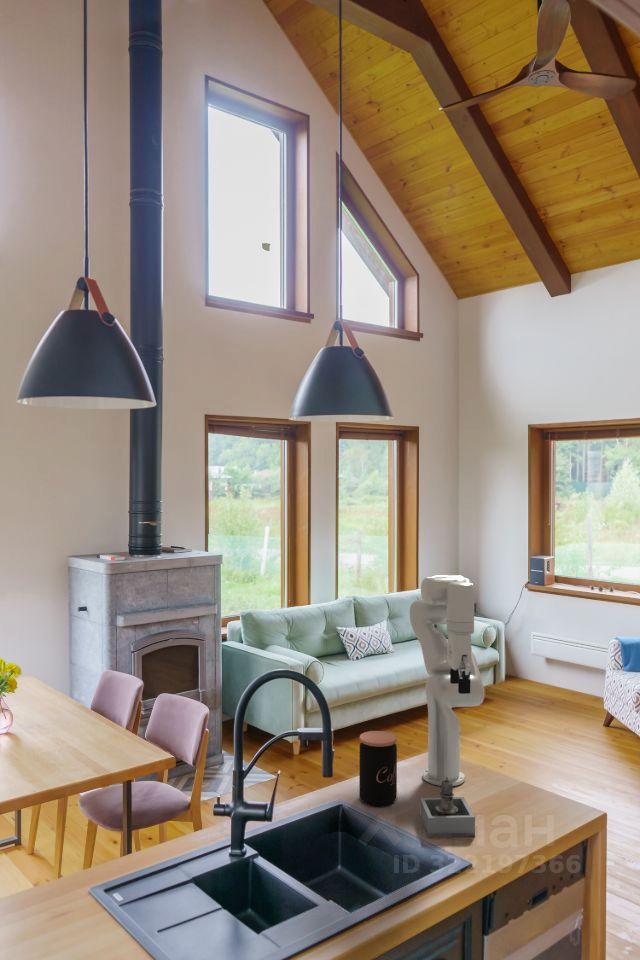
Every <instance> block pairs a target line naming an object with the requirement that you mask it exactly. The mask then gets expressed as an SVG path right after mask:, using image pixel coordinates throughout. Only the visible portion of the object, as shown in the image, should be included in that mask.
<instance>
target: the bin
mask: <svg viewBox="0 0 640 960" xmlns="http://www.w3.org/2000/svg"><path fill="white" fill-rule="evenodd" d="M439 804H441V797H420V798H419V818H420V820H421V823H422V825H423V827H425V828H424V830H425V831H426V832H425V833H426V835H427V837H428V838H432V839H433V838H467V837H470V838H471V837H476V816H475V814H474V812H473V811H472V809H471V807H470V805H469V803H468V802H467V800H466V799H465V797H464V796H462V797H461V796H459V797H457V796H456V797H455V796H453V805H454V806H456V807H457V808H458V812H457V814H456V816H438V814H437V810H436V806H437V805H439Z"/></svg>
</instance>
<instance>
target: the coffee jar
mask: <svg viewBox="0 0 640 960" xmlns="http://www.w3.org/2000/svg"><path fill="white" fill-rule="evenodd" d="M359 741H360V743H359V775H358V776H359V780H358V781H359V783H358V784H359V787H358V788H359V791H358V793H359V794H358V795H359V798H360V799H361V802H362V803H363V804H365V805H367V806H369V807H374V806H375V808H384V807H389V806H392V804H394V802H395V801H396V800H397V799H398V798H397V796H398V795H397V793H398V790H397V788H398V786H397V785H398V784H397V783H398V772H397V771H398V770H397V769H398V746H397V744H396V743H397V741H398V738H397V735H396V734H394V733H392V732H390V731H383V730H369V731H365V732H362V733H360V735H359Z"/></svg>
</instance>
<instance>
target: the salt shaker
mask: <svg viewBox="0 0 640 960" xmlns="http://www.w3.org/2000/svg"><path fill="white" fill-rule="evenodd" d="M440 787H441V789H440V790H441V791H440V792H439V796H440V798H441V804H439V805H437V806H436V810H437V814H438V816H456V814H457V812H458V808H457V807H456V806H454V805H453V797H455V796H454V795H455V794H454V793H453V786H452V782H451V781H450V780H448V777H446V780H443V781H442V783H441V786H440Z"/></svg>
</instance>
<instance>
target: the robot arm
mask: <svg viewBox="0 0 640 960" xmlns="http://www.w3.org/2000/svg"><path fill="white" fill-rule="evenodd" d="M421 581H422V582H421V584H420V595H421V598H420V599H417V600H415V601H413V602H412V603H411V604H410V607H409V610H408V611H409V621H410V626H411V629H412V631H413V633H414V634H415V637H416V638H417V640H418V643H419V644H420V646H421V647H420V648H421V652H422V656H423V657H422V658H423V660H424V661H423V662H424V666H425V669H426V670H425V671H426V672H427V674H428V675H429V676H430V677H428V678H427V680H426V681H425V689H424V690H425V696H426V703H427V715H428V716H427V717H428V720H427V723H428V725H427V726H428V727H427V729H428V732H427V733H428V735H427V737H428V738H427V739H428V740H427V743H428V744H427V745H428V746H427V751H428V752H427V755H428V757H427V759H428V761H427V763H428V764H427V769H425V770H424V771H423V773H422V778H423V780H424V781H425V782H427V783H428V784H431V785H435V786H439V787H441V783H442V781H443V780H446V777H448V780H450V781H451V782H452V787H455V786H460V785H462V784H463V783H464V782H465V781H466V779H465V778H466V775H465V774H464V773H463V772H462V771H461V770H460V769H461V765H460V764H461V763H460V762H461V722H460V719H459V717H458V715H457V714H456V713H455V712H454V710H453V709H452V708H457V707H458V708H460V707H461V708H462V707H463V708H464V707H466V708H467V707H478V706H480V705H481V704H483V702H484V700H485V688H484V683H483V680H482V675H481V672H480V669H479V665H478V662H477V659H476V656H475V655H476V654H475V653H474V652H473V651H472V649H473V648H472V635H473V634H474V633H475V586H474V583H473V582H472V581H471V580H470V578H467V577H464V576H462V575H460V574H434V575H431V576H427V577H424V578H423V579H422V580H421ZM434 625H446V633H448V635H447V637H446V636H445V635H444V633H442V631H440V630H439V629H438V628H437V627H435V626H434Z"/></svg>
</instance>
